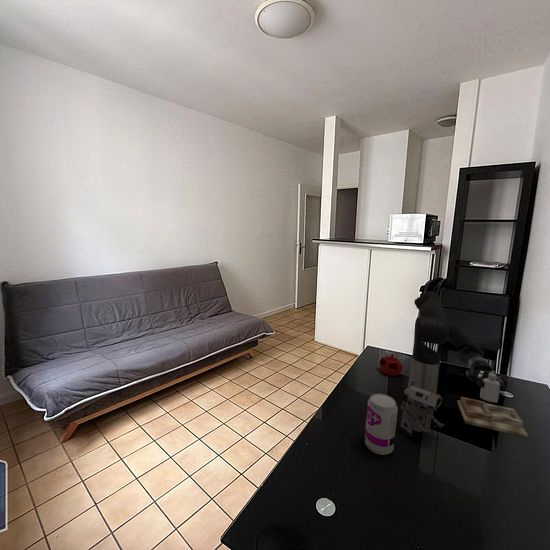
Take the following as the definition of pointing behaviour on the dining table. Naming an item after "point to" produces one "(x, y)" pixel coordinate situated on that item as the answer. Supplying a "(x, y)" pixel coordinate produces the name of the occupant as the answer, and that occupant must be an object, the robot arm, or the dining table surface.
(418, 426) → the figurine
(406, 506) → the dining table surface
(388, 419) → the supplement can
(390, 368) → the pomegranate
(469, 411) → the wooden compartment tray
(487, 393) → the eye dropper bottle
